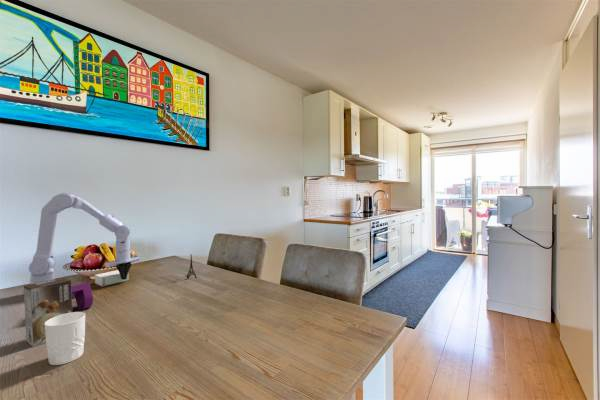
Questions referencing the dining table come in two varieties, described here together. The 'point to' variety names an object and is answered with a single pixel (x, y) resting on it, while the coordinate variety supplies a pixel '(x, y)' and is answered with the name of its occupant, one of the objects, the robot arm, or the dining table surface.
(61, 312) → the coffee box
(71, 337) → the white cup
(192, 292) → the dining table surface
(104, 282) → the door
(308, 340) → the dining table surface
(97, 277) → the cabinet
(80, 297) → the mounting bracket
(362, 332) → the dining table surface
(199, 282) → the dining table surface
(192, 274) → the eiffel tower figurine
